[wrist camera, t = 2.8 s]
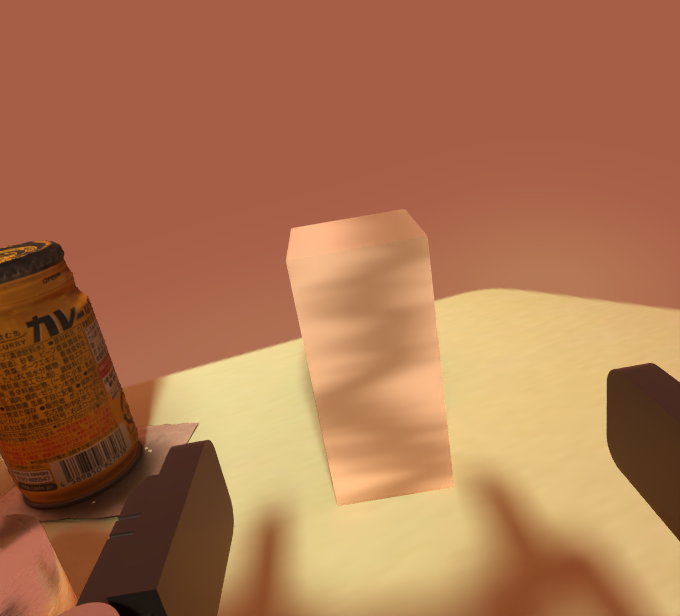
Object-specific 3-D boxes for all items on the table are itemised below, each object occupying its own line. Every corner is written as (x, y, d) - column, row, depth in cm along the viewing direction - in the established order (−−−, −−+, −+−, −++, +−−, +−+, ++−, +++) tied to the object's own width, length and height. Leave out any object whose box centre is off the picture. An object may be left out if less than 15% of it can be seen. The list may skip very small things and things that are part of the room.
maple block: (337, 506, 23) (285, 260, 19) (333, 436, 27) (291, 228, 23) (454, 486, 23) (427, 235, 19) (429, 420, 27) (404, 208, 23)
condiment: (68, 434, 32) (-13, 242, 28) (199, 425, 31) (136, 221, 26) (-23, 526, 25) (-148, 293, 21) (139, 521, 24) (41, 269, 19)
